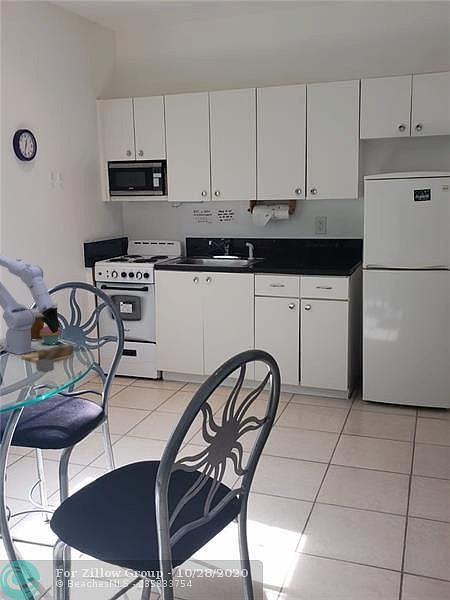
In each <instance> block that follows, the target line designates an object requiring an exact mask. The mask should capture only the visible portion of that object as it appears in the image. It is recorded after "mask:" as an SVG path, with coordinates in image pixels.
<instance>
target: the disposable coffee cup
mask: <svg viewBox="0 0 450 600" xmlns="http://www.w3.org/2000/svg"><path fill="white" fill-rule="evenodd" d="M28 309H29V310H31V311H32V312H33V313H34V315H35V322H34V324H33V325H32V327H31V339H38V340H37V341H40V340H39V339H41V340H43V338H42V337H41V336H40V330H41V329H43V328H44V327H45V323H44V322H43V321H42V320H41V318H43V317H45V316H44V315H42V313H39V310H38V307H36V308H28Z"/></svg>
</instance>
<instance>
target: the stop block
mask: <svg viewBox="0 0 450 600" xmlns="http://www.w3.org/2000/svg"><path fill="white" fill-rule="evenodd" d="M35 364H36V365H35V367H36V370H38V371H42V372H45V373H46V372H50V371H53V370H55V362H54V361H52V360H48V359H40V360H36V363H35Z"/></svg>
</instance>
